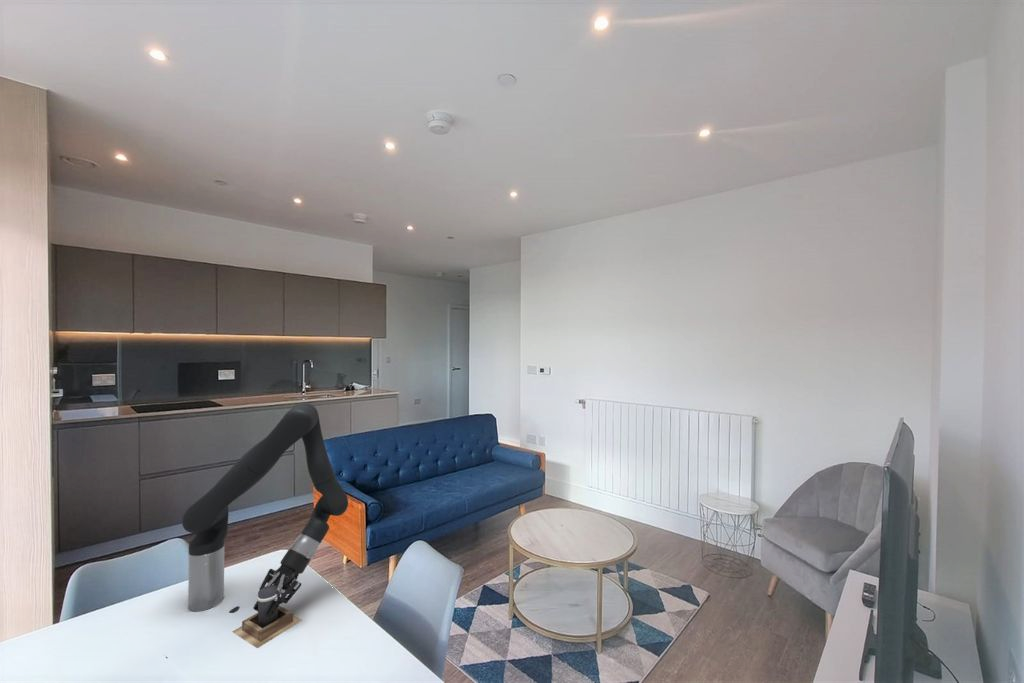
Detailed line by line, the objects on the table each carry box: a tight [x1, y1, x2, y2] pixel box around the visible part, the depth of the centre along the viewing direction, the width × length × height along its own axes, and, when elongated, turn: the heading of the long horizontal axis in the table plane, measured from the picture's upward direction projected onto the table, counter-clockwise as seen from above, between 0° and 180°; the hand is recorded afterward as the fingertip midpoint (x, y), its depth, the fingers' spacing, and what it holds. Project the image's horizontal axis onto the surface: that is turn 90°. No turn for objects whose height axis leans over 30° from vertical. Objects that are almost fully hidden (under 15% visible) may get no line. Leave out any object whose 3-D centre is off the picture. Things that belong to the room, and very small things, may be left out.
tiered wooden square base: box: [231, 605, 303, 649], centre depth 119 cm, size 13×13×3 cm
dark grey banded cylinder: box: [257, 585, 278, 628], centre depth 119 cm, size 5×5×10 cm
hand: (261, 613), depth 118 cm, fingers closed on dark grey banded cylinder, 5 cm apart
